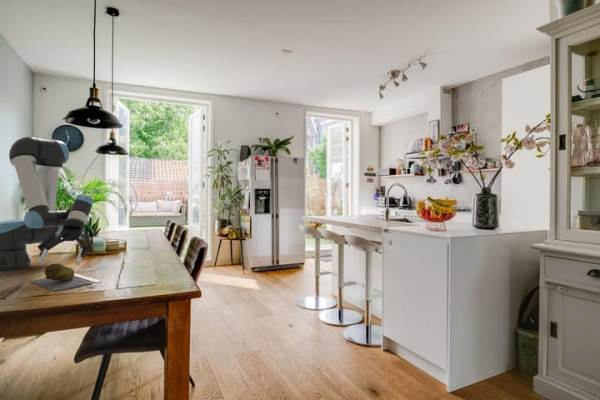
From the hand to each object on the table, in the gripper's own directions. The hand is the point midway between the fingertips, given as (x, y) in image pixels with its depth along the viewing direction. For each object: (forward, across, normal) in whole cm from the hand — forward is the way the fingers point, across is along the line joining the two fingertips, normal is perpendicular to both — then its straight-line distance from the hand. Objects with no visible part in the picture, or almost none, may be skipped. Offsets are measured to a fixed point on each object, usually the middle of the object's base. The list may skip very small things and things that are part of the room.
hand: (59, 263), depth 141 cm
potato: (+5, 0, -7) cm, 8 cm away
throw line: (0, -7, -11) cm, 13 cm away
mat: (+5, 0, -7) cm, 8 cm away
